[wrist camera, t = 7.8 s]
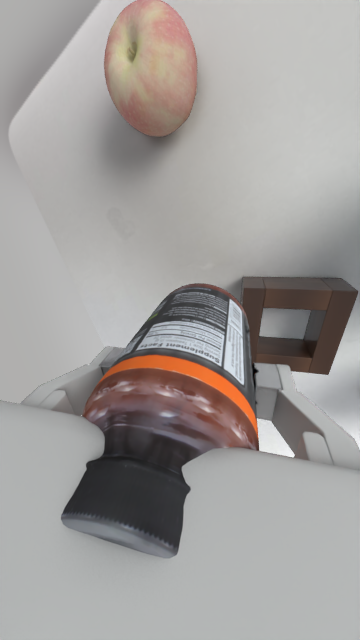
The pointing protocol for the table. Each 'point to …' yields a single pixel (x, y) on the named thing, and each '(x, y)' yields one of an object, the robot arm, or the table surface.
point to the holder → (323, 326)
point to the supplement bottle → (165, 418)
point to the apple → (151, 67)
